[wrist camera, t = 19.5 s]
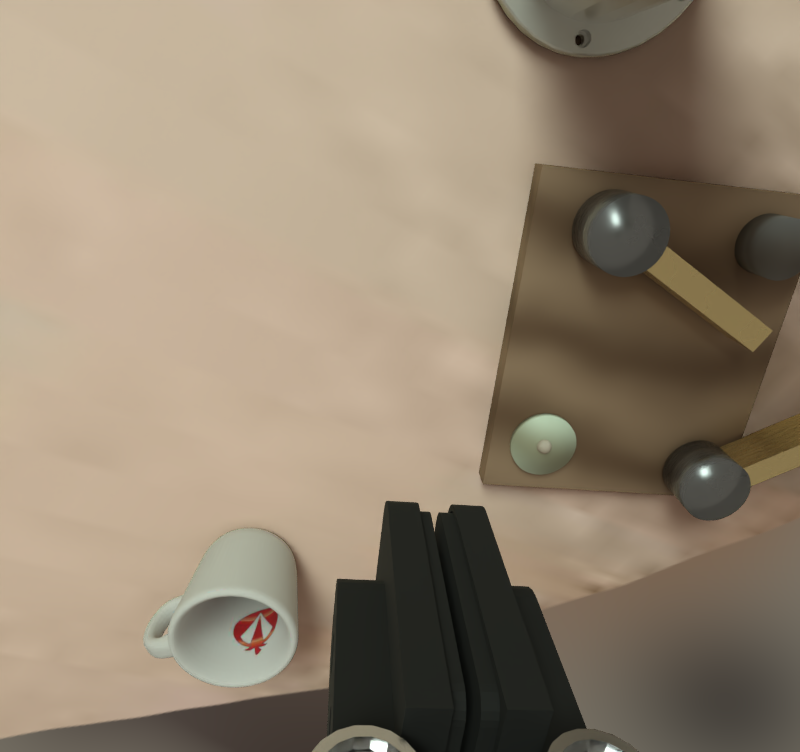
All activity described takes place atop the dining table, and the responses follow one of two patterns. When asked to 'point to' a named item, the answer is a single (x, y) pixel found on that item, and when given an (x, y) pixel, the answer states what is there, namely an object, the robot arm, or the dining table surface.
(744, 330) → the ball knob lever
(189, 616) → the cup
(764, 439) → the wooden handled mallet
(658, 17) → the robot arm
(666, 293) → the base plate
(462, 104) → the dining table surface
